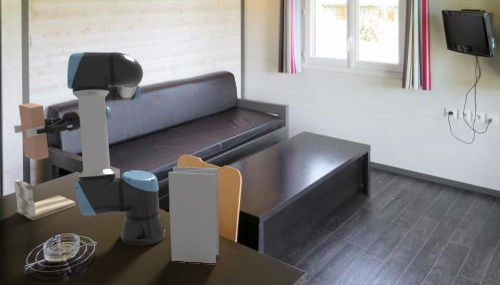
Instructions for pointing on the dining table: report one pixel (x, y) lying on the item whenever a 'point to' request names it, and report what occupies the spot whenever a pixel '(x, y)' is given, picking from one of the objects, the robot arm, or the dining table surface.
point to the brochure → (194, 214)
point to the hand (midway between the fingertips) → (21, 131)
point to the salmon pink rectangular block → (31, 119)
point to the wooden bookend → (39, 208)
